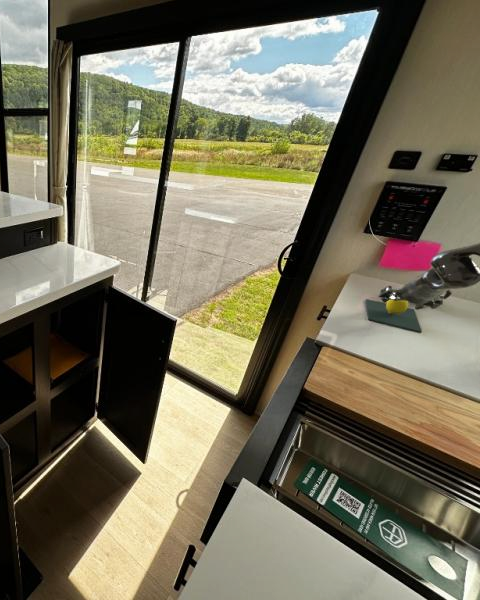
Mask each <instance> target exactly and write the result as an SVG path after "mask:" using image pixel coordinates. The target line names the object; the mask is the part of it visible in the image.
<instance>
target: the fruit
mask: <svg viewBox="0 0 480 600" xmlns="http://www.w3.org/2000/svg"><path fill="white" fill-rule="evenodd" d="M397 298H399V297H397ZM385 303H386V309H387V310H388V311H389V313H390V314H399V313H402V312H404V311H405V310H406V309H407V308H409V302H408V301H403V300H398V301H395V300H393V299H392V300H388V301H387V302H385Z"/></svg>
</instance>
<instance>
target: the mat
mask: <svg viewBox="0 0 480 600" xmlns="http://www.w3.org/2000/svg"><path fill="white" fill-rule="evenodd" d="M386 303H387V302H383V301H377V300H372V299H369V298H366V299H365V306H366V307H365V308H366V315H367V320H368V321H371V322H373V323H374V322H375V323H379V324H383V325H387V326H391V327H395V328H400V329H404V330H407V331H412V332H415V333H420V334H422V333H423V330H422V327H421V325H420V322H419V319H418V317H417V313H416V309H415V308H410V307H408V308H407V309H406V310H405V311H404V312H402V313H399V314H390V313H389V311H388V310H387V309H386Z"/></svg>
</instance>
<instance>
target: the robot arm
mask: <svg viewBox="0 0 480 600" xmlns="http://www.w3.org/2000/svg"><path fill="white" fill-rule="evenodd" d="M473 256H478V257H480V242H478V243H475V244H471V245H468V246H462V247H457V248H452V249H448V250H444V251H441V252H439V253H437V254H435V255H434V256H432V258H431V260H430V265H431V267H432V268H429V269H427V270H426V271H424V272H423V273H421V274H419V275H418V276H415V278H412V279H411V280H410V281H408V282H407V283H406V284H404V286H402V287H401V288H398V289H396V288H393V285H387V286H385V287H384V288H382V289H381V290H380V292H379V294H378V298H380V299H381V302H383V303H387V301H388V300H392V299H393V300H395V301H398V300H403V301H408V303H411V304H415V306H414V310H417V311H418V310H422V309H424V308H425V309H426V308H430V309H431V310H436V309H437V308H439V307H441V306H442V305H443V303H444V301H445V299H444V297H443V296H444V295H443V294H445V293H446V291H448V290H459V289H467V288H471V287H473V286H476V285H479V284H480V266H479V265H478V264H477V262H476V261H475V259H474V258H473ZM397 297H399V298H397ZM430 301H432V302H430Z"/></svg>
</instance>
